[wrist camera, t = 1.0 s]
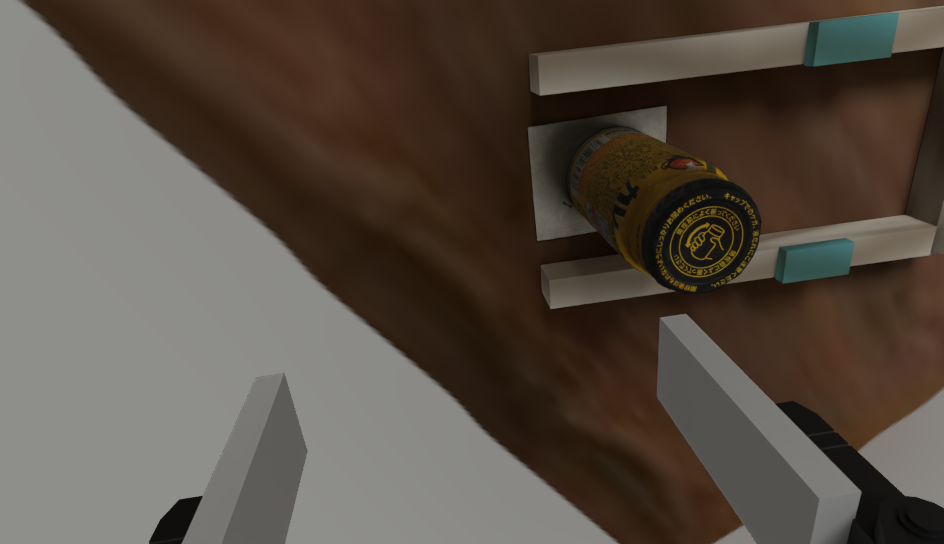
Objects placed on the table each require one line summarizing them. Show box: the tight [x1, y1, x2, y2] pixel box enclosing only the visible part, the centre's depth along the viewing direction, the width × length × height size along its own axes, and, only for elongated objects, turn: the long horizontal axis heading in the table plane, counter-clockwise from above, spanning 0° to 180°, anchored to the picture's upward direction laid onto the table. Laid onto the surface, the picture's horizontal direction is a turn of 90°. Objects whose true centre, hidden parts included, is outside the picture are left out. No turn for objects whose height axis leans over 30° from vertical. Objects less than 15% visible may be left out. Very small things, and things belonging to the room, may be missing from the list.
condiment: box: [528, 106, 762, 294], centre depth 29 cm, size 7×8×12 cm
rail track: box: [528, 6, 944, 309], centre depth 33 cm, size 15×27×3 cm, turn 96°
